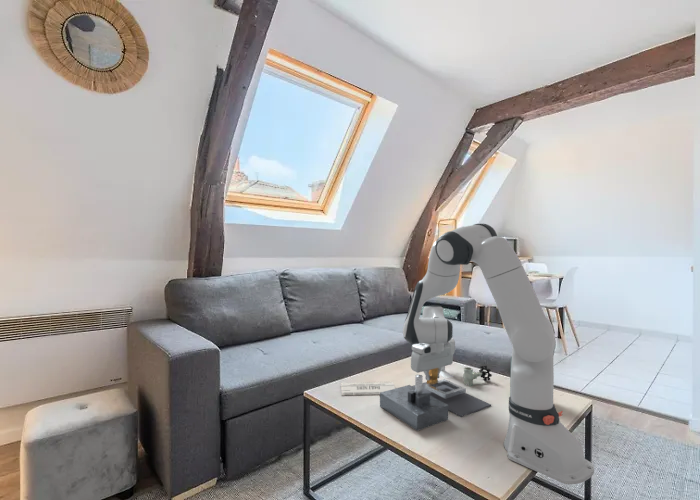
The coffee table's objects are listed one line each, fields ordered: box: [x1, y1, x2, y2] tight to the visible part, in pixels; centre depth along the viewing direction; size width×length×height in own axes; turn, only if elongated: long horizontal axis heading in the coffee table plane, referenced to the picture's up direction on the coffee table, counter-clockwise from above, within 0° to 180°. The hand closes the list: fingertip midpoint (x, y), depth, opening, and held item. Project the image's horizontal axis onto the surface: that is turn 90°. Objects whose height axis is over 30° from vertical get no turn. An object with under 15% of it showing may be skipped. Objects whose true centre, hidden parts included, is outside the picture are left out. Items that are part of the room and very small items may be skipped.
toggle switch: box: [379, 374, 449, 431], centre depth 128 cm, size 20×14×14 cm
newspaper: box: [340, 381, 396, 397], centre depth 148 cm, size 23×12×2 cm, turn 94°
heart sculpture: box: [439, 336, 456, 379], centre depth 167 cm, size 16×5×18 cm, turn 15°
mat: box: [412, 381, 492, 418], centre depth 141 cm, size 28×16×1 cm, turn 31°
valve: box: [462, 365, 493, 387], centre depth 155 cm, size 7×7×12 cm
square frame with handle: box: [425, 368, 467, 399], centre depth 143 cm, size 14×11×7 cm
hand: (432, 378), depth 147 cm, fingers closed on square frame with handle, 3 cm apart
